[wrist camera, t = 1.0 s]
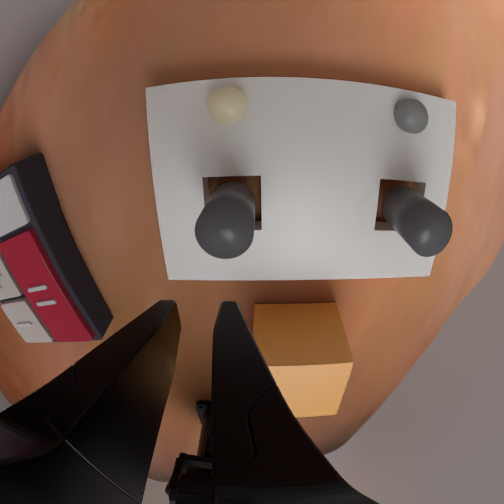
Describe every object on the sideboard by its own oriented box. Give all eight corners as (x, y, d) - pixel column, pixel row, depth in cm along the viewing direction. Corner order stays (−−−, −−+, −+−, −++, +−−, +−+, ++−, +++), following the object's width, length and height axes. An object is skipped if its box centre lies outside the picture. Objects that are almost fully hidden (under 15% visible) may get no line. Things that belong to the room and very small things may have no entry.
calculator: (25, 347, 22) (-52, 214, 14) (43, 320, 25) (-22, 195, 18) (101, 347, 20) (5, 166, 13) (118, 311, 24) (43, 149, 17)
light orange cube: (325, 357, 24) (336, 414, 19) (255, 359, 24) (253, 417, 19) (335, 302, 21) (353, 362, 16) (254, 303, 21) (251, 366, 16)
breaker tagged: (256, 225, 17) (254, 258, 13) (211, 226, 17) (197, 259, 14) (255, 181, 16) (253, 203, 12) (207, 182, 16) (192, 205, 12)
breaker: (415, 226, 17) (445, 256, 13) (379, 225, 17) (405, 257, 13) (421, 187, 15) (456, 209, 12) (384, 184, 16) (415, 207, 12)
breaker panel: (421, 265, 20) (433, 280, 18) (174, 268, 20) (166, 284, 18) (443, 101, 14) (461, 102, 12) (154, 89, 15) (141, 87, 13)
